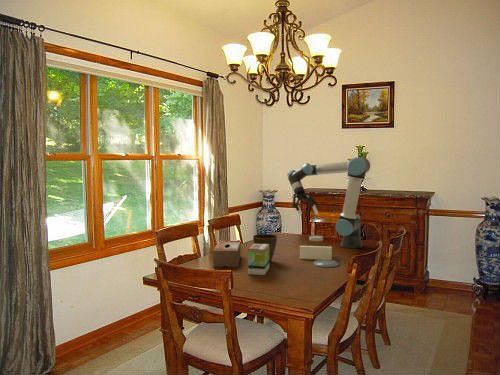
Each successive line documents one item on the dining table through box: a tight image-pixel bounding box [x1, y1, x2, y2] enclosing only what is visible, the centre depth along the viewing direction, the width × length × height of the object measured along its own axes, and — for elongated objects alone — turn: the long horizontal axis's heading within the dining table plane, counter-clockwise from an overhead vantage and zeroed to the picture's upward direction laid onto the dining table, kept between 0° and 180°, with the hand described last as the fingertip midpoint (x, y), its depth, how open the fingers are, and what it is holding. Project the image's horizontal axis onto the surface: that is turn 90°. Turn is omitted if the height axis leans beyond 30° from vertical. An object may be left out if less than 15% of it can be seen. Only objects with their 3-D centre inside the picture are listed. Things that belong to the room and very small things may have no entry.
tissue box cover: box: [212, 241, 241, 268], centre depth 267 cm, size 26×14×10 cm, turn 177°
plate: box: [313, 259, 340, 268], centre depth 259 cm, size 15×15×1 cm
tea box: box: [247, 243, 270, 276], centre depth 244 cm, size 15×10×15 cm, turn 168°
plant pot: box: [252, 233, 278, 263], centre depth 266 cm, size 15×15×16 cm
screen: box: [299, 245, 333, 261], centre depth 271 cm, size 20×2×8 cm, turn 80°
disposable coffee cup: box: [308, 235, 324, 246], centre depth 283 cm, size 10×10×12 cm
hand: (309, 214), depth 295 cm, fingers open, 13 cm apart
